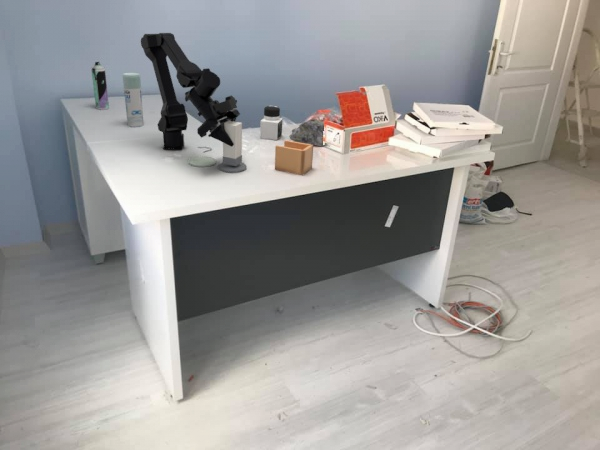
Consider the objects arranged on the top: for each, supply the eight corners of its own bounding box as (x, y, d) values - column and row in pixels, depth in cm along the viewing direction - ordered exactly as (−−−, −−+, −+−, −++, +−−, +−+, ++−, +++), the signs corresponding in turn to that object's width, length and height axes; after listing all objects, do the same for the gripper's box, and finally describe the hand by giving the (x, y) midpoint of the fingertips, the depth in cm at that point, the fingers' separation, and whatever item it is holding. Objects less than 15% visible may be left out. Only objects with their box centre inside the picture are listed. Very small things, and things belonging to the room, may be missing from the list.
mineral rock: (287, 142, 192) (288, 116, 188) (304, 137, 200) (306, 112, 195) (314, 150, 185) (316, 123, 181) (331, 144, 193) (333, 118, 188)
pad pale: (187, 166, 161) (187, 164, 160) (189, 157, 169) (189, 155, 168) (215, 167, 162) (215, 164, 161) (216, 158, 170) (216, 156, 169)
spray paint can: (146, 126, 201) (142, 75, 192) (130, 127, 197) (125, 75, 189) (141, 122, 206) (136, 72, 197) (125, 123, 202) (120, 73, 194)
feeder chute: (311, 168, 166) (313, 144, 163) (302, 175, 160) (304, 151, 156) (284, 162, 170) (285, 140, 166) (274, 169, 163) (275, 146, 159)
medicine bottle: (277, 140, 193) (278, 109, 188) (259, 138, 194) (260, 107, 189) (281, 135, 200) (283, 105, 194) (264, 133, 201) (265, 104, 195)
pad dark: (218, 172, 157) (218, 170, 157) (218, 163, 165) (218, 160, 165) (246, 172, 159) (246, 170, 158) (246, 163, 167) (246, 161, 166)
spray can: (106, 110, 221) (101, 63, 212) (94, 109, 221) (88, 62, 212) (110, 107, 226) (105, 61, 217) (98, 106, 226) (93, 60, 217)
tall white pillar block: (222, 163, 160) (222, 123, 154) (229, 159, 164) (229, 120, 158) (235, 166, 159) (235, 126, 153) (242, 162, 163) (242, 122, 157)
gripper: (205, 93, 144) (239, 136, 146) (234, 83, 160) (265, 122, 162) (182, 116, 150) (215, 157, 152) (213, 104, 166) (243, 142, 168)
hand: (236, 143), depth 158 cm, fingers closed on tall white pillar block, 4 cm apart
